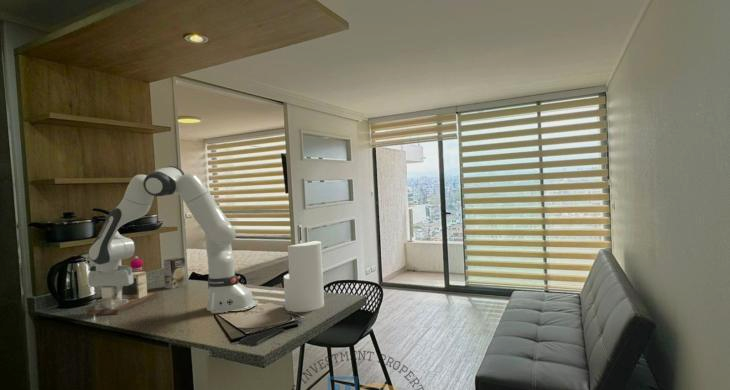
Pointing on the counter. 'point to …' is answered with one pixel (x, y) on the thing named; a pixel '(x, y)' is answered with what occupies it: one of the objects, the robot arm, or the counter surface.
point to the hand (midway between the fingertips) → (111, 295)
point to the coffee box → (174, 273)
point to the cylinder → (304, 278)
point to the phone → (261, 337)
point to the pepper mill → (136, 264)
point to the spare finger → (110, 295)
